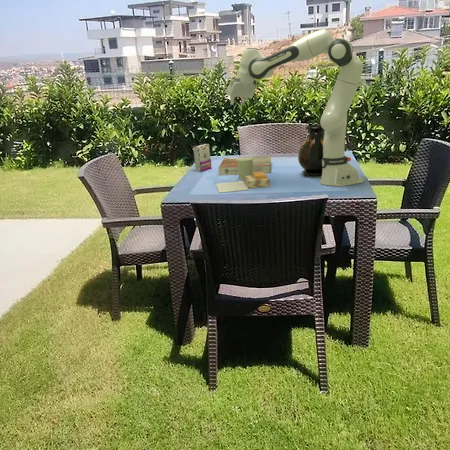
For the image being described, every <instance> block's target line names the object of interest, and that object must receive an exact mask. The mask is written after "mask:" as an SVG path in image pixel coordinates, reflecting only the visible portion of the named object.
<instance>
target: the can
mask: <svg viewBox="0 0 450 450" xmlns="http://www.w3.org/2000/svg"><path fill="white" fill-rule="evenodd" d="M238 172H239V175H238V180H239V181H244V176H249V175H253V158H240V159H238Z"/></svg>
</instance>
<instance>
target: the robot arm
mask: <svg viewBox="0 0 450 450" xmlns="http://www.w3.org/2000/svg"><path fill="white" fill-rule="evenodd" d="M353 52H354V47H353V44H352V43H351V41H350V40H348V39H346V38H334V36H333V34H332V32H331V31H330V30H329V29H327V28H323V29H319V30H316V31H312V32H310V33H308V34H306V35H304V36H302V37H301V38H299V39H297V40H296V41H295V42H293V43H291V44H290V45H288V46H287V47H285V48H284V49H281V50H279V51H277V52H275V53H273V54H271V55H268V56H264V54H263V53H262V52H261V51H260V49H259V48H255V47H247V48H245V49H244V50H243V53H242V55H241V58H240V61H239V68H238V69H237V73H236V76H235V77H234V78H233V79H231V80H230V82H229V84H228V85H227V86H228V87H227V90H226V95H228V96H230V97H229V98H230V103H229V104H230V105H232V106H233V105H235V103H236V101H235V99H236V98H242V101H240V105H241V106H245V104H246V102H247V101H248V98H249V99H251V98H253V96H254V94H255V91H256V86H257V84H258V81H257V80H261V79H268V78H271V76H272V75H273V74H274V71H275V69H276V68H278V67H280V66H282V65H284V64H287V63H293V62H304V61H308V60H311V59H313V58H315V57H317V56H319V55H322V54H327V55H328V58H329V59H330V60H331V61H332V62H333V63H334V64H336V65H337V66H339V71H338V75H337V77H336V80H335V83H334V86H333V88H332V92H331V94H330V96H329V98H328V101H327V103H326V105H325V107H324V110H323V111H322V112H323V113H322V114H321V116H320V122H319V123H320V124H321V127H322V128H323V129H324V130H325V132H324V140H323V157H322V167H323V170H322V176H320V181H319V183H320V185H325V186H331V187H332V186H334V187H344V186H349V185H358V184H362V183H364V179H363V177H360V173H359V171H358V169H357V168H356V167H354V166H353V165H352V164H350V163H349V162H351V161H352V158H351V157H350V156H346V155H345V152H346V151H345V145H346V144H345V141H346V135H347V134H346V132H347V124H348V123H347V122H348V120H347V119H348V114H347V113H348V111H349V108H350V106H351V104H352V103H353V100H354V98H355V95H356V92H357V90H358V87H359V84H360V83H361V79H362V76H363V70H364V63H363V61H361V60H360V59H358V58H357V57H354V55H353Z"/></svg>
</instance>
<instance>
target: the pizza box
mask: <svg viewBox="0 0 450 450" xmlns="http://www.w3.org/2000/svg"><path fill="white" fill-rule="evenodd" d="M271 157H272V156H271V155H256V156H255V155H254V156H239V157H224V158H223V159H222V161H221V163H220V165H219V166H218V176H219V177H223V176H224V177H225V176H239V172H238V159H240V158H253V173H254V172H264V173H265V174H271V173H272V172H271V169H272V158H271Z"/></svg>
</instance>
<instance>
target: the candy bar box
mask: <svg viewBox="0 0 450 450" xmlns="http://www.w3.org/2000/svg"><path fill="white" fill-rule="evenodd" d="M193 158H194V167H195V172H196V171H199V172H198V173H202V172H205V171H208V170H211V169H212V160H211V151H210V144H209V143H203V144H200V145H196V146H193Z"/></svg>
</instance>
